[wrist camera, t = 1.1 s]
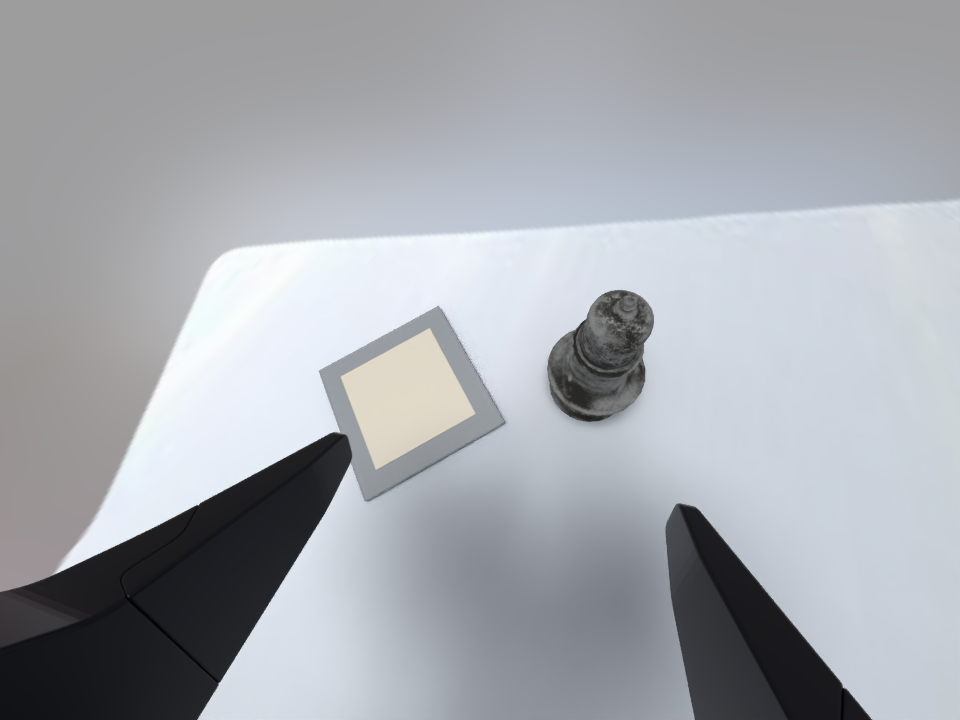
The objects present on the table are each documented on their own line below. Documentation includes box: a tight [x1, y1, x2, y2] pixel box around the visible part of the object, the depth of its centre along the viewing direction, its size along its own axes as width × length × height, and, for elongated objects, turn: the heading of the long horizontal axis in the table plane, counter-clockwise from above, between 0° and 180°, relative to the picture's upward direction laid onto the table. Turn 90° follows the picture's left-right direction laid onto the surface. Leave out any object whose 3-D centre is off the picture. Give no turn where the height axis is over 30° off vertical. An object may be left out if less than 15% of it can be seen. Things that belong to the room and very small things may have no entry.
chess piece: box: [547, 290, 654, 422], centre depth 19 cm, size 6×6×12 cm
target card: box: [319, 306, 505, 501], centre depth 26 cm, size 11×11×1 cm
